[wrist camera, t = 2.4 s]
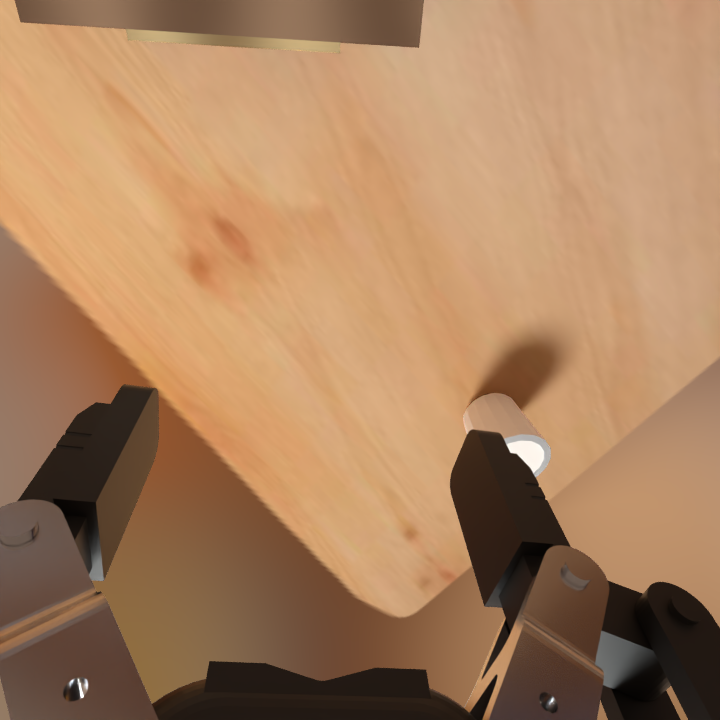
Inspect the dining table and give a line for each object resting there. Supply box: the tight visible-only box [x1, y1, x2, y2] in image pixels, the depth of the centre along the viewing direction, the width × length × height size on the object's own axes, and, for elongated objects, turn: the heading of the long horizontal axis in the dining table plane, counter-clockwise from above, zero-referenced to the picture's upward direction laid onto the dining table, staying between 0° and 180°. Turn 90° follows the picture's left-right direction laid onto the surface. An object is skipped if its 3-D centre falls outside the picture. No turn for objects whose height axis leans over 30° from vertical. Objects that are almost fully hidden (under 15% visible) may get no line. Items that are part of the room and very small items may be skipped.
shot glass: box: [463, 393, 551, 478], centre depth 48 cm, size 7×7×7 cm
